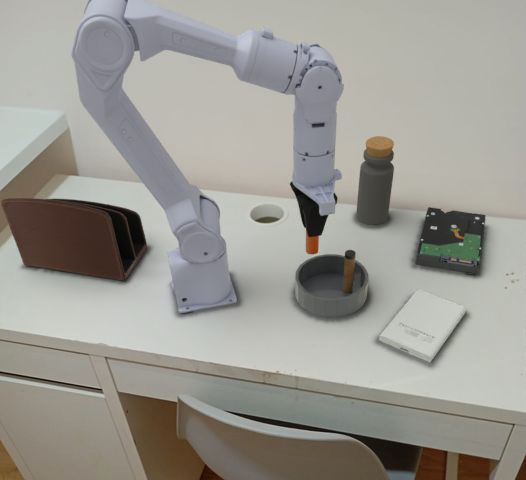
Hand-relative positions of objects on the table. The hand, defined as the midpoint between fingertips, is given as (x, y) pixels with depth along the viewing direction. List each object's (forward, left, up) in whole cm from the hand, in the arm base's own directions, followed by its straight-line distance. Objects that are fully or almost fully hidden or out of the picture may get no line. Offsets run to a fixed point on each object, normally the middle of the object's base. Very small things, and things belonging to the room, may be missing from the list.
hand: (312, 230), depth 88 cm
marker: (0, 0, -4) cm, 4 cm away
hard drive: (+13, -15, -11) cm, 22 cm away
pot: (+2, -4, -10) cm, 11 cm away
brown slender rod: (+5, -4, -10) cm, 12 cm away
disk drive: (+26, +3, -11) cm, 28 cm away
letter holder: (-37, +18, -11) cm, 42 cm away
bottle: (+16, +15, -11) cm, 25 cm away
